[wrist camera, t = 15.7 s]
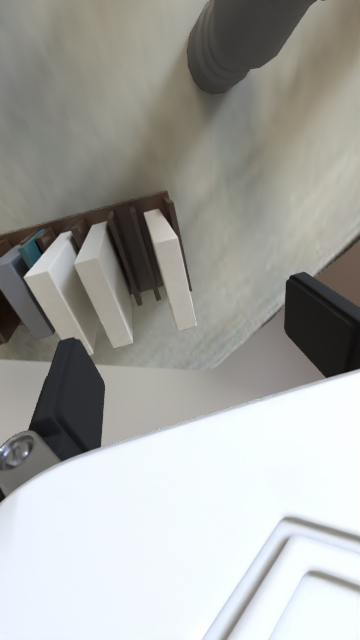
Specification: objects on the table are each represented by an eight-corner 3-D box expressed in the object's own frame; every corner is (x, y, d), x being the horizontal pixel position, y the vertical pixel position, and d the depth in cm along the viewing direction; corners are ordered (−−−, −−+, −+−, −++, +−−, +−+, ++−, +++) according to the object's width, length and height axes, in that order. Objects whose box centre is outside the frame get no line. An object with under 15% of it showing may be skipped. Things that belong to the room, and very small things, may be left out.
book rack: (-11, 331, 38) (-45, 373, 30) (-72, 253, 31) (-135, 283, 24) (185, 276, 39) (199, 304, 31) (166, 190, 32) (179, 200, 25)
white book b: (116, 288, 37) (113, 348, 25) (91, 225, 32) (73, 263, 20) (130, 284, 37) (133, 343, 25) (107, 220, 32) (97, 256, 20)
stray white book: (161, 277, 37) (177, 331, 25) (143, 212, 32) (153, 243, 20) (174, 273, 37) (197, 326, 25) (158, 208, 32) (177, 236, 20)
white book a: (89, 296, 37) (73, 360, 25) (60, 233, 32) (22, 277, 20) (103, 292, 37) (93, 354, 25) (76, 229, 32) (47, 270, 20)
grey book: (51, 306, 36) (34, 339, 30) (15, 245, 31) (-14, 268, 25) (66, 302, 36) (53, 334, 30) (33, 240, 32) (8, 262, 25)
